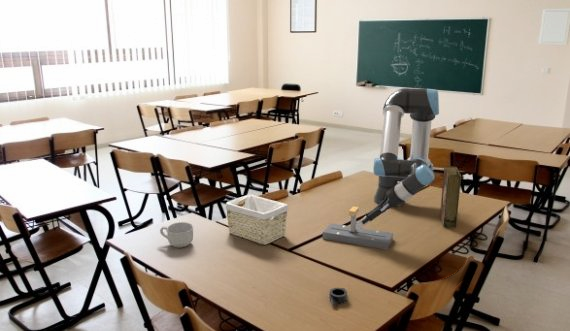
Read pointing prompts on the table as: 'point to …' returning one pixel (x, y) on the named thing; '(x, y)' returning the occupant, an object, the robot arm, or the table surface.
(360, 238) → the fader console
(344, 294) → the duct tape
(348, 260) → the table surface
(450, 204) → the book
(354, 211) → the fader knob
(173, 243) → the teacup
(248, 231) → the storage basket
